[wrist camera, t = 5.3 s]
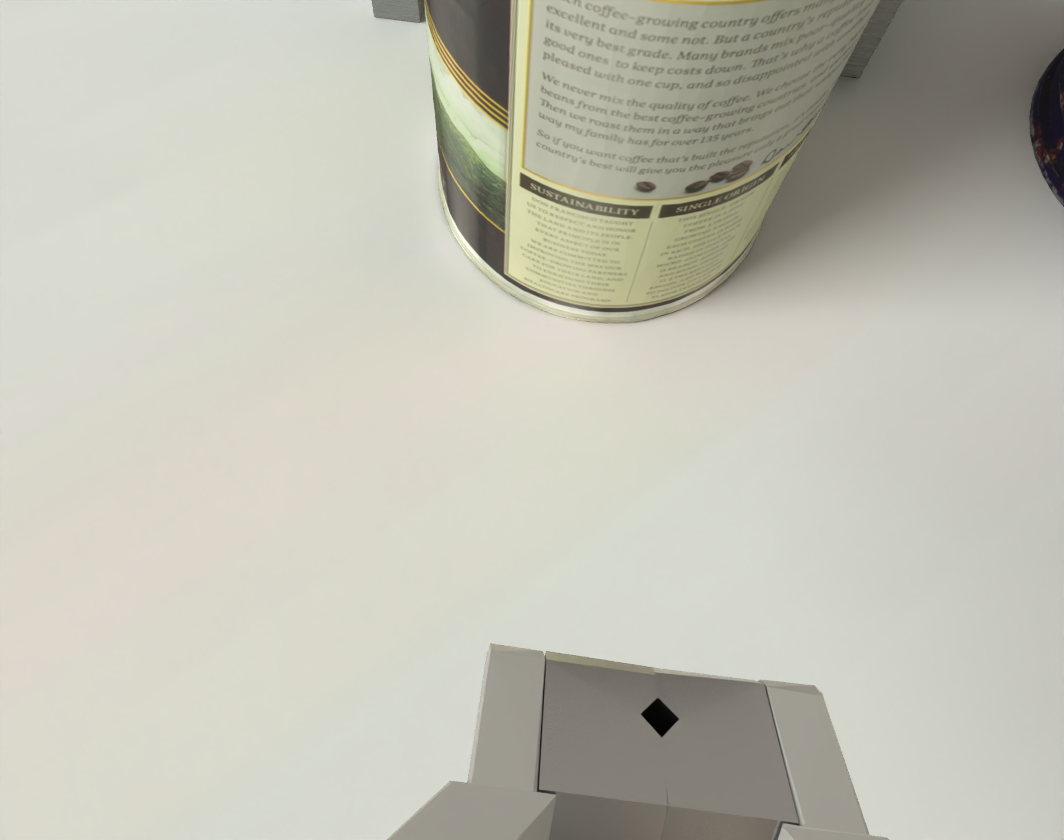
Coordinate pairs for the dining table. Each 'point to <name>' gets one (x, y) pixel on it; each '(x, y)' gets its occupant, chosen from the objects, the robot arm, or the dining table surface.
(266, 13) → the dining table surface
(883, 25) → the receiver bay
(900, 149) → the dining table surface
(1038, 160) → the storage jar
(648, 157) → the coffee can
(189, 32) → the dining table surface
